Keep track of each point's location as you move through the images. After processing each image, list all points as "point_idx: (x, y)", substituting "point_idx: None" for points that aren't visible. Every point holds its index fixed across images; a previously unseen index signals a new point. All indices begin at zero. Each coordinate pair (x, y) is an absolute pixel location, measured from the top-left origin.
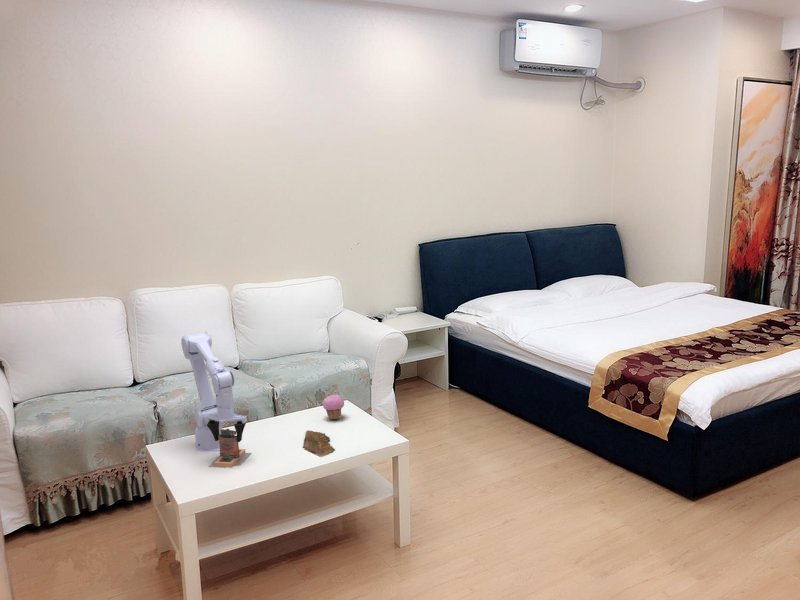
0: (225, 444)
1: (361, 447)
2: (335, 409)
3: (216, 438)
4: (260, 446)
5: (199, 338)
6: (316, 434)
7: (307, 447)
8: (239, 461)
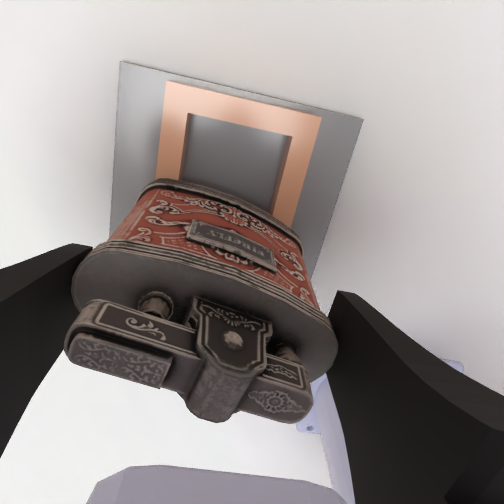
0: (238, 245)
1: None
2: None
3: (347, 305)
4: (91, 376)
5: None
6: None
7: None
8: (146, 183)
